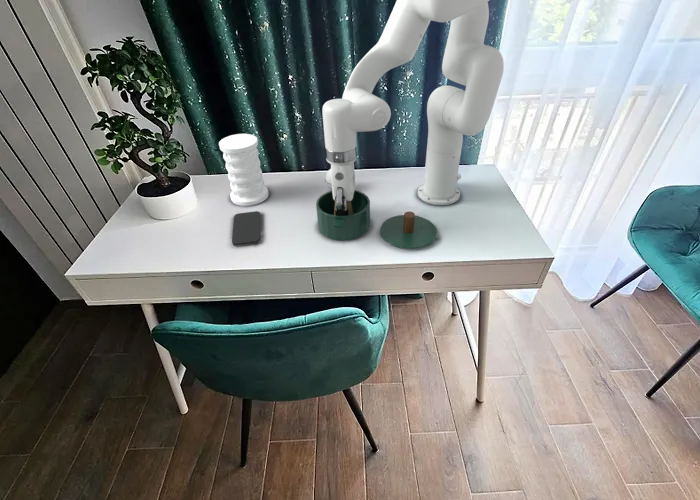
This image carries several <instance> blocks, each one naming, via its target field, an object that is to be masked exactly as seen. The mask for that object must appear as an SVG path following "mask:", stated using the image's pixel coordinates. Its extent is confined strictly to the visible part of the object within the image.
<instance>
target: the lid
mask: <svg viewBox="0 0 700 500" xmlns="http://www.w3.org/2000/svg"><path fill="white" fill-rule="evenodd" d="M379 233H380V236H381V238H382V239H383V241H384V242H386V243H387V244H389V245H390V246H393V247H395V248H398V249H399V248H400V249H405V250H416V249H422V248H424V247H428V246H430V245H431V244H432V243H434V241H435V240H436V238H437V236H438V229H437V227H436V225H435V224H434V223H433V222H432V221H430V220H429V219H427V218H426V217H422V216H420V215H416V213H415V212H413V211H405V212H404V213H403V214H398V215H395V216H392V217H389V218H387V219H386V220H384V221H383V222H382V223H381V225H380V228H379Z"/></svg>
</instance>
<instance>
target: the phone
mask: <svg viewBox="0 0 700 500" xmlns="http://www.w3.org/2000/svg"><path fill="white" fill-rule="evenodd" d="M260 242H261V213H260V211H257V210H256V211H247V212H240V213H236V214H234V216H233V225H232V237H231V244H232V246H235V247H237V246H245V245H252V244H253V245H254V244H257V243H260Z"/></svg>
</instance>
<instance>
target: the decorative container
mask: <svg viewBox="0 0 700 500" xmlns="http://www.w3.org/2000/svg"><path fill="white" fill-rule="evenodd" d="M218 146H219V150H220V151H221V152H222V159H223V160H224V161H225V169H226V171H227V179H228V180H229V182H230V185H229V186H230V189H231V190H232V191H231V192H230V194H229V196H230V200H231V202H232V203H233V204H235V205H238V206H242V207H246V206H254V205H257V204H261V203H262V202H264V201H265V200H266V199H267V198H268V197H269V189H268V187H267V186H266V185H265V180H264V178H263V170H262V168H261V160H260V158H259V149H258V148H257V147H258V146H259V140H258V137H257V136H256V135H254V134H251V133H236V134H231V135H228V136H226V137H223V138H221V140H219V141H218Z"/></svg>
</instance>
